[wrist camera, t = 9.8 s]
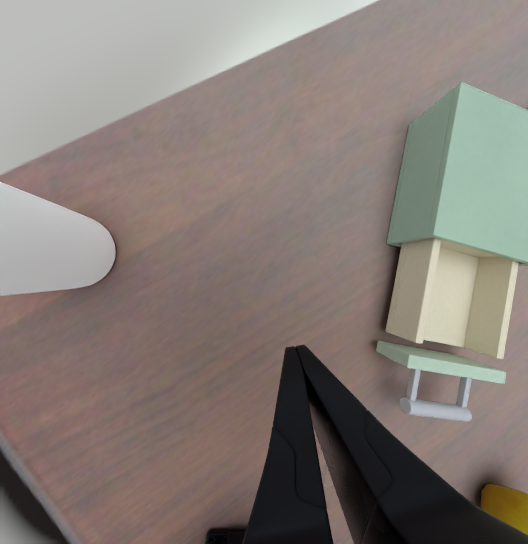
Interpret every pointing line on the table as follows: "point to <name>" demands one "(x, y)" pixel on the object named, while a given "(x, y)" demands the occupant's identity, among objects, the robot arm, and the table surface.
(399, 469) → the robot arm
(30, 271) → the can
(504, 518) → the apple
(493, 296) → the drawer
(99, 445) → the table surface
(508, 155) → the cabinet
